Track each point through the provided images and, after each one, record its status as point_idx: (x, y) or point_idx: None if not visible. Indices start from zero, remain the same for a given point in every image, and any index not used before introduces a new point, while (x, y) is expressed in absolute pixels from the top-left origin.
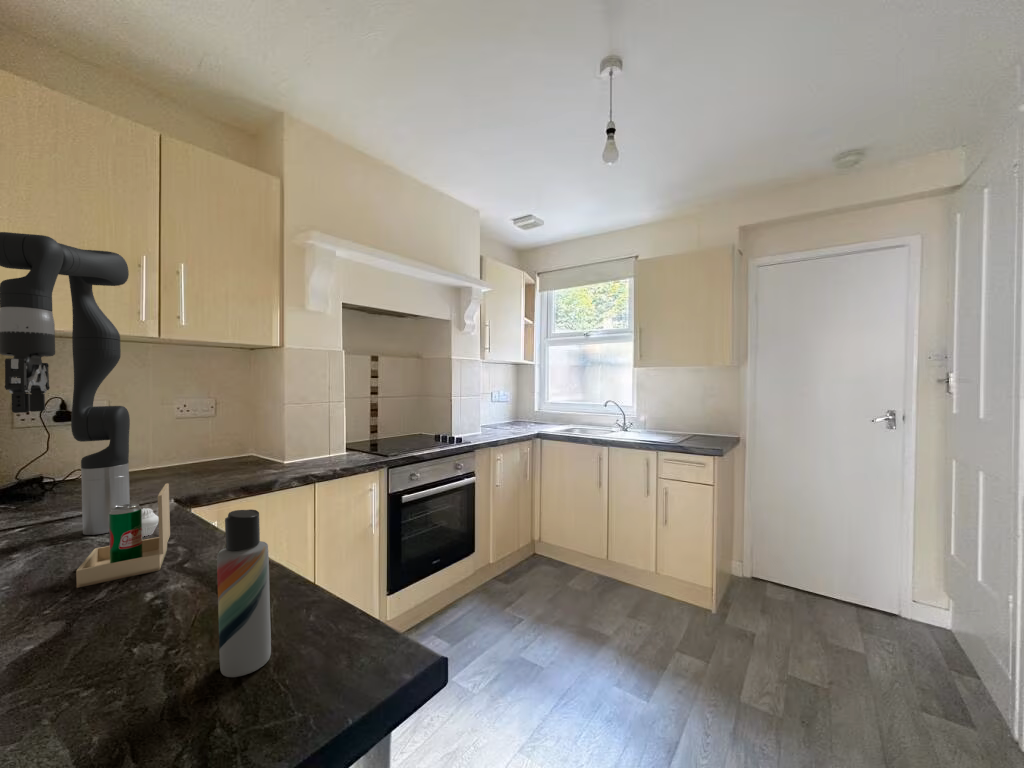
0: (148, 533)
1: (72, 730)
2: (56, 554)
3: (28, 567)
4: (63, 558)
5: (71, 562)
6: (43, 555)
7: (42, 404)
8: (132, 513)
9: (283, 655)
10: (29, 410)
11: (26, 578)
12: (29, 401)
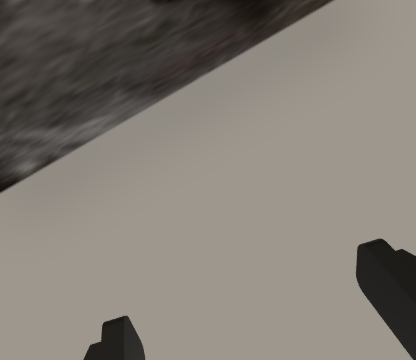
0: None
1: None
2: (43, 96)
3: (110, 103)
4: (76, 67)
5: (109, 36)
6: (42, 118)
7: (127, 353)
8: None
9: None
10: (369, 244)
11: (172, 71)
12: (409, 284)
